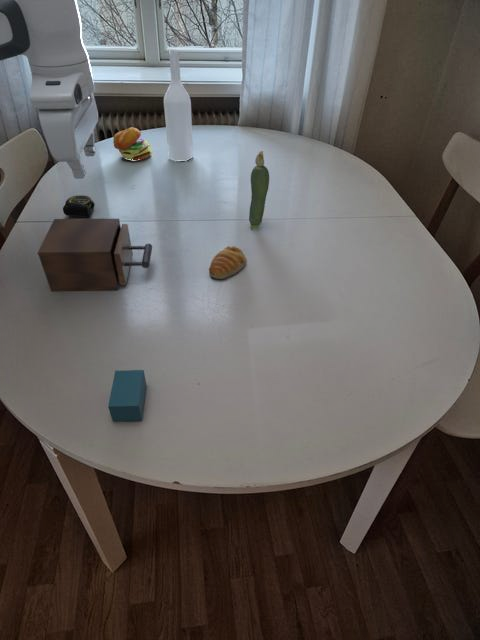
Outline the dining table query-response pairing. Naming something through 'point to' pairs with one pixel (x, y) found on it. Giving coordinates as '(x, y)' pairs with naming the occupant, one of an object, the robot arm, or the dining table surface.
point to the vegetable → (258, 191)
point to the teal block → (127, 395)
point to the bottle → (178, 114)
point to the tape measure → (79, 206)
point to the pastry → (227, 262)
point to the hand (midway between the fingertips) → (86, 165)
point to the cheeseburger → (131, 144)
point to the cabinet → (80, 254)
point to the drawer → (127, 254)
